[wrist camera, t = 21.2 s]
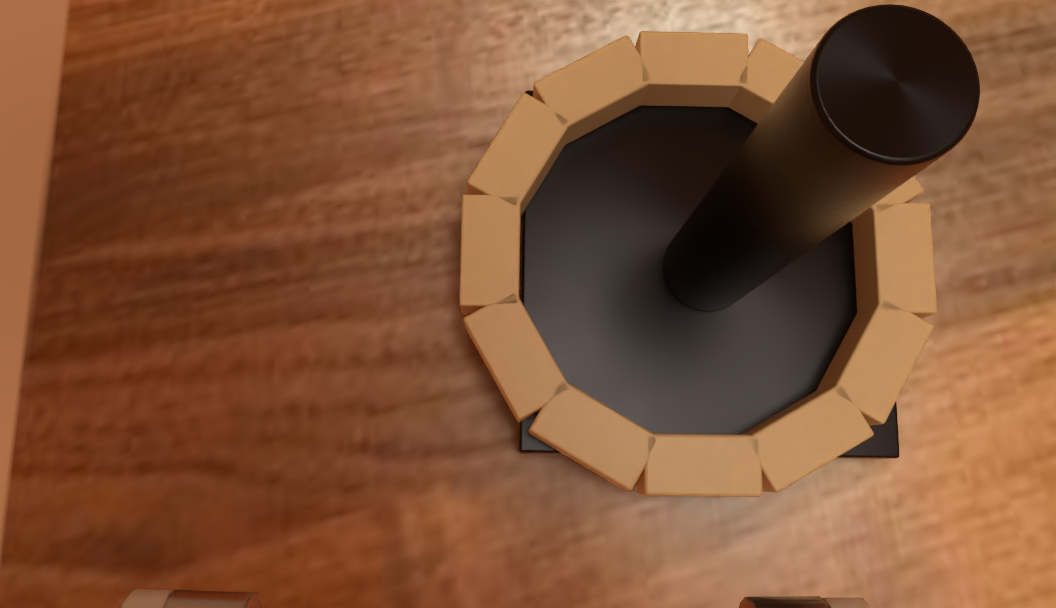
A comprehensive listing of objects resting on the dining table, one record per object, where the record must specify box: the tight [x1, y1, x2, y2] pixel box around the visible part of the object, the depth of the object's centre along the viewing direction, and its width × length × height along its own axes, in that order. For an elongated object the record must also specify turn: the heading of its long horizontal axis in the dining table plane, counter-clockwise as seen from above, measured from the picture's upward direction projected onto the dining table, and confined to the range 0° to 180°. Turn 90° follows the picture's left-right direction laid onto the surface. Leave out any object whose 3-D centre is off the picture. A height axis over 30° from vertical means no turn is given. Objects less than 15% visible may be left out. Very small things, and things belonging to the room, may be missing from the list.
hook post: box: [518, 4, 980, 459], centre depth 19 cm, size 10×10×13 cm
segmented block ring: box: [459, 31, 937, 497], centre depth 24 cm, size 12×12×2 cm
